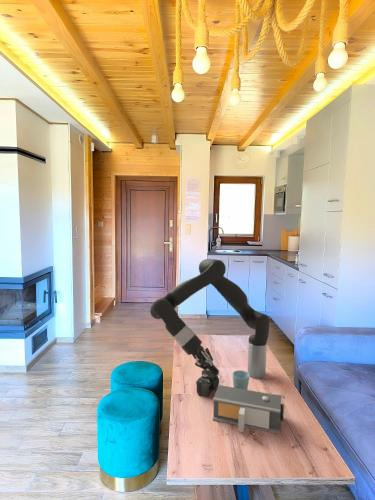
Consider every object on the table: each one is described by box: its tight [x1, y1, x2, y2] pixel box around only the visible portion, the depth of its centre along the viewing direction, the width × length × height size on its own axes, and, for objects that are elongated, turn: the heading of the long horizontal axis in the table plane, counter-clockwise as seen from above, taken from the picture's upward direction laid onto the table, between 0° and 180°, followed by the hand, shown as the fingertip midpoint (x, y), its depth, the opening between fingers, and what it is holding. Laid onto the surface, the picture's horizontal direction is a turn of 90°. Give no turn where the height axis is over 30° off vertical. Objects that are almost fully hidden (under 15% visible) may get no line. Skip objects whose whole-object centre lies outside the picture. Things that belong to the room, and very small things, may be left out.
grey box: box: [212, 384, 285, 435], centre depth 129 cm, size 11×27×10 cm, turn 72°
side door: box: [237, 406, 270, 433], centre depth 121 cm, size 6×11×7 cm, turn 72°
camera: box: [195, 369, 220, 398], centre depth 150 cm, size 13×10×10 cm
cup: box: [232, 369, 250, 390], centre depth 145 cm, size 8×8×10 cm
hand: (217, 373), depth 123 cm, fingers closed
